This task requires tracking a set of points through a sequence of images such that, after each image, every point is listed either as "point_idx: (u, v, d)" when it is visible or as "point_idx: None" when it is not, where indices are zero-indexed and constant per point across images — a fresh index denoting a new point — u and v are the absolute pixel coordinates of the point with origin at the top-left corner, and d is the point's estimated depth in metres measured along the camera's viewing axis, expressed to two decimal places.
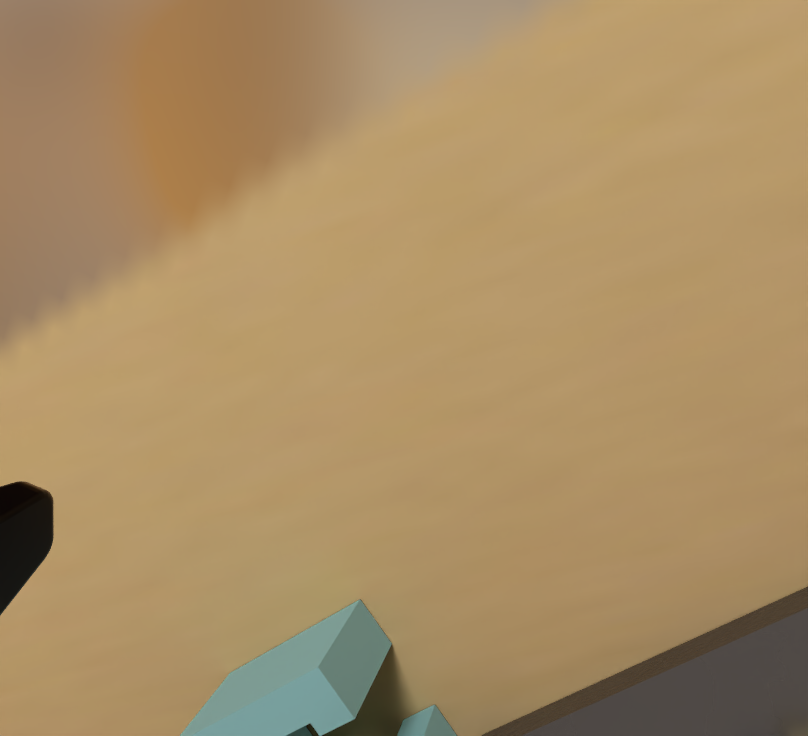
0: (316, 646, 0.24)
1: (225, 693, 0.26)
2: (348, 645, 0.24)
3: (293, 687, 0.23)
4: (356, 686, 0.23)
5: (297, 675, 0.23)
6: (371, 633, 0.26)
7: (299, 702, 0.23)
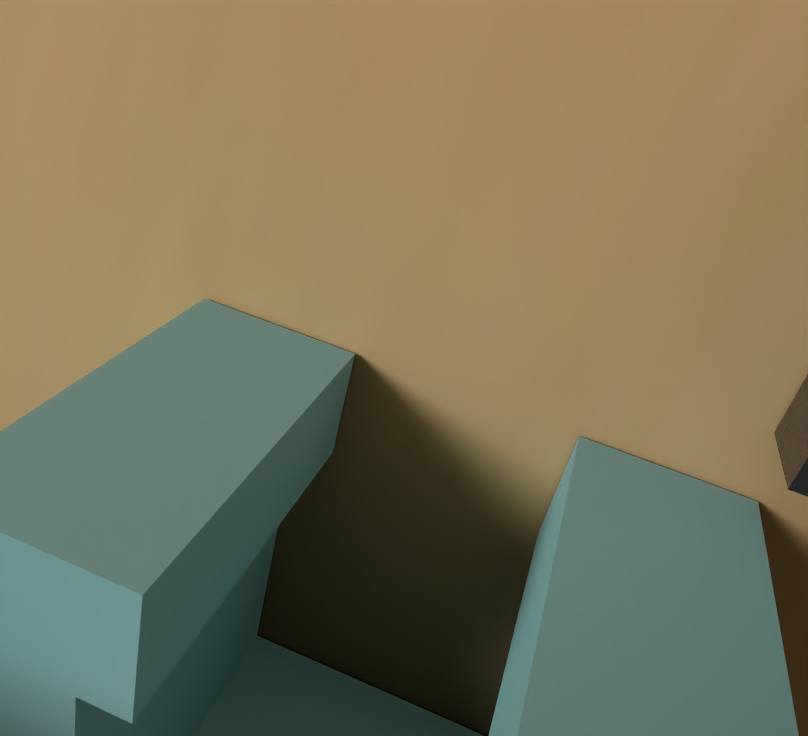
0: None
1: None
2: (131, 396, 0.07)
3: None
4: (164, 489, 0.06)
5: None
6: (260, 350, 0.08)
7: None
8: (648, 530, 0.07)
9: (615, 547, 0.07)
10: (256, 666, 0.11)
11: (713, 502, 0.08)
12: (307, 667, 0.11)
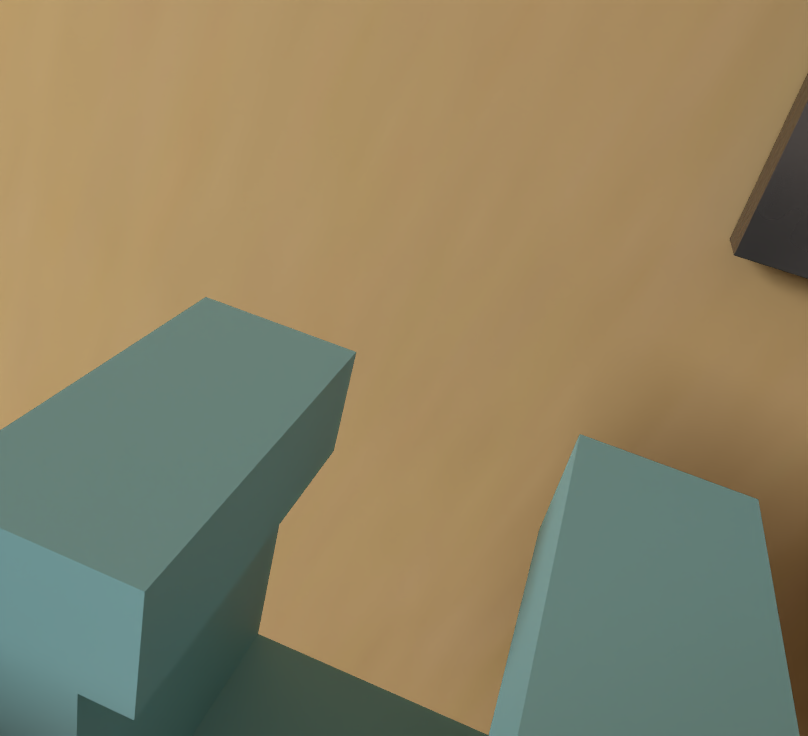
0: None
1: None
2: (133, 394, 0.07)
3: None
4: (166, 486, 0.06)
5: None
6: (261, 348, 0.08)
7: None
8: (649, 528, 0.07)
9: (616, 544, 0.07)
10: (257, 664, 0.11)
11: (713, 500, 0.08)
12: (308, 665, 0.11)
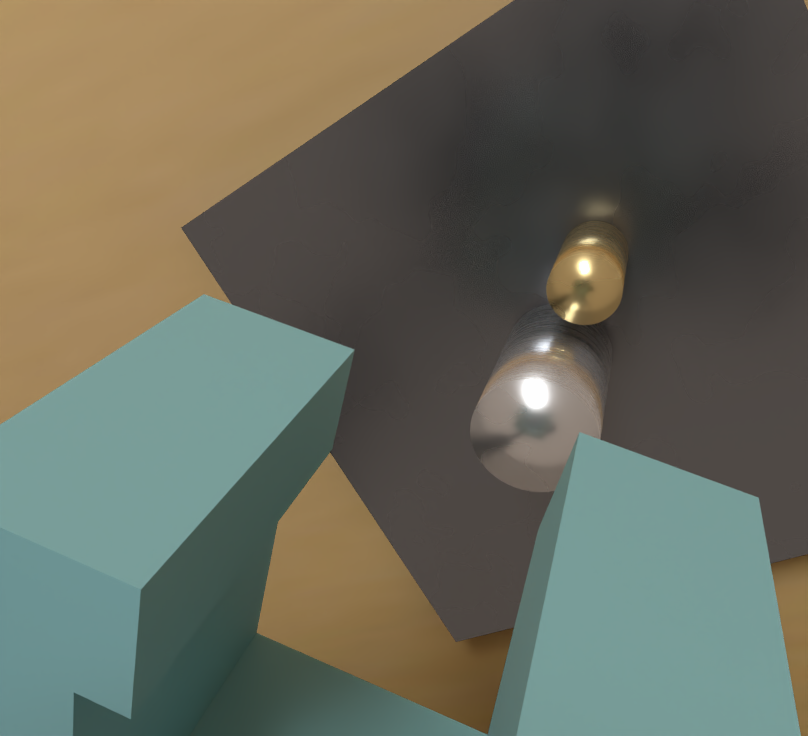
0: None
1: None
2: (129, 391, 0.07)
3: None
4: (163, 483, 0.06)
5: None
6: (260, 345, 0.08)
7: None
8: (648, 525, 0.07)
9: (615, 542, 0.07)
10: (255, 663, 0.11)
11: (713, 498, 0.08)
12: (306, 664, 0.11)
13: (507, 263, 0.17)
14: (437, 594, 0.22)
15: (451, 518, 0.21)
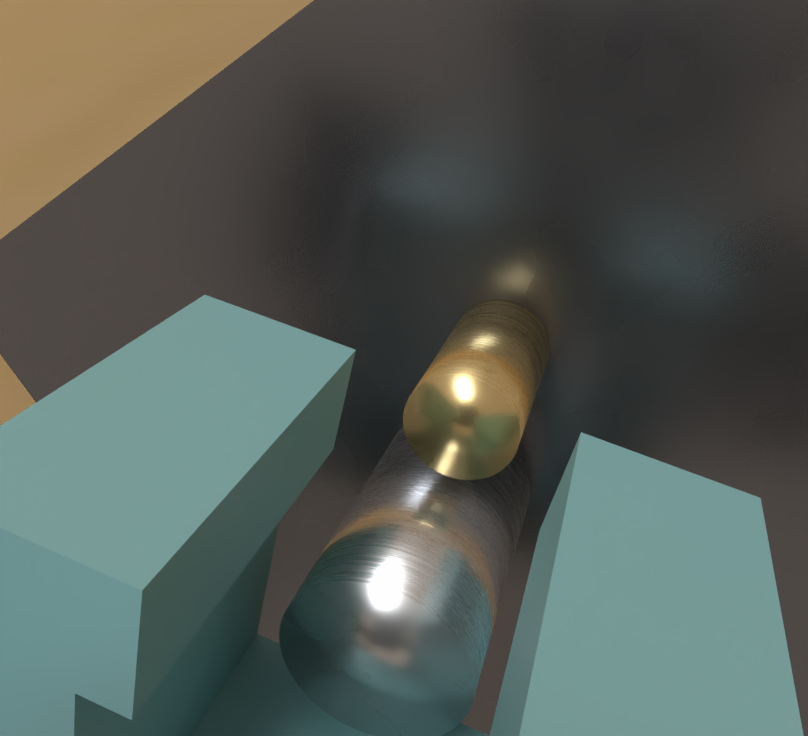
0: None
1: None
2: (130, 391, 0.07)
3: None
4: (164, 484, 0.06)
5: None
6: (259, 345, 0.08)
7: None
8: (650, 526, 0.07)
9: (617, 543, 0.07)
10: (256, 664, 0.11)
11: (715, 498, 0.08)
12: None
13: (379, 353, 0.12)
14: None
15: None
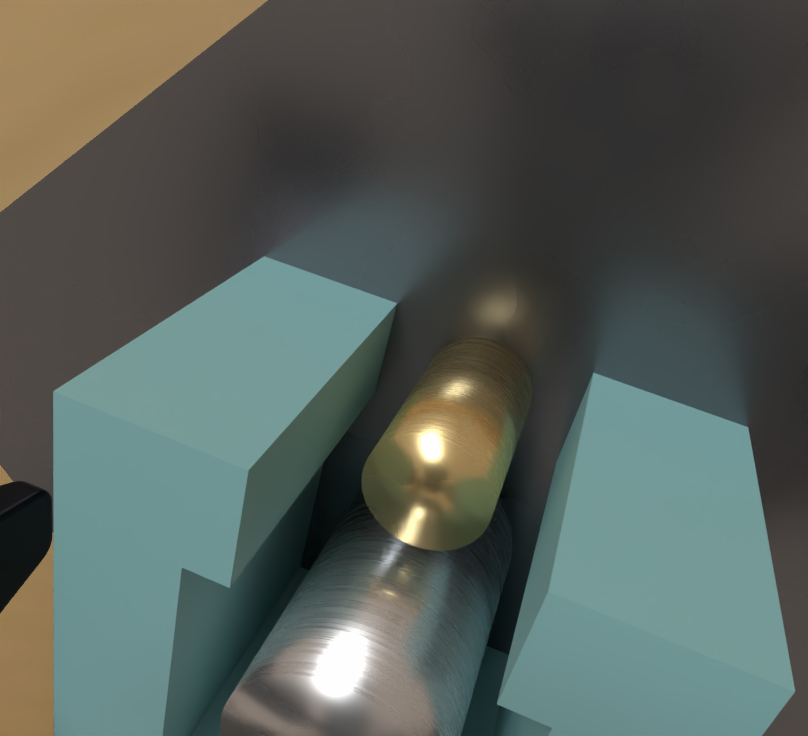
0: None
1: None
2: (215, 329, 0.08)
3: (71, 498, 0.07)
4: (253, 397, 0.07)
5: None
6: (316, 297, 0.09)
7: (115, 529, 0.07)
8: (653, 443, 0.08)
9: (626, 454, 0.08)
10: None
11: (709, 426, 0.09)
12: None
13: None
14: None
15: None
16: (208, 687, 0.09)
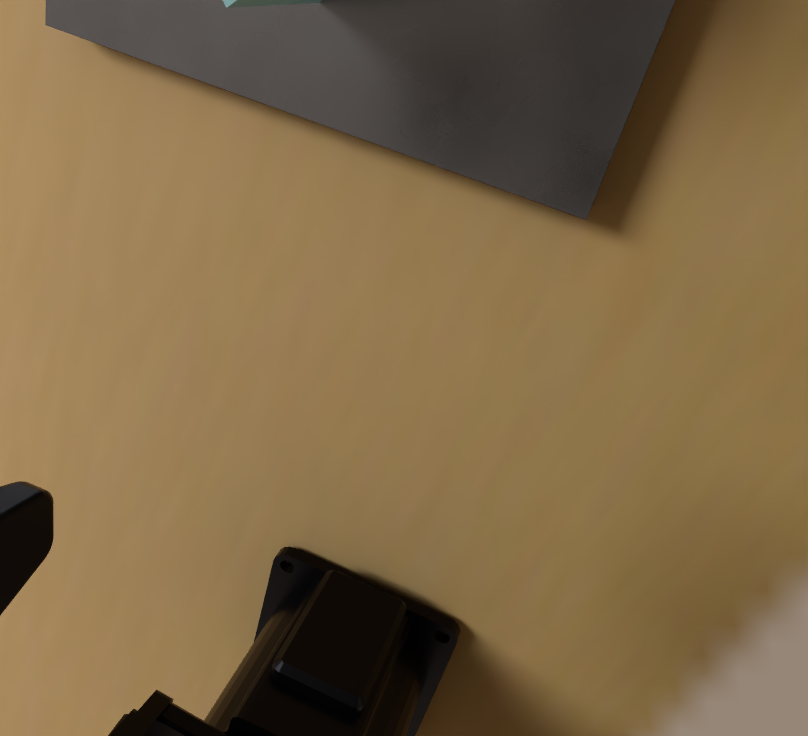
0: None
1: None
2: None
3: None
4: None
5: None
6: None
7: None
8: None
9: None
10: None
11: None
12: None
13: None
14: (518, 177, 0.17)
15: (451, 65, 0.16)
16: None
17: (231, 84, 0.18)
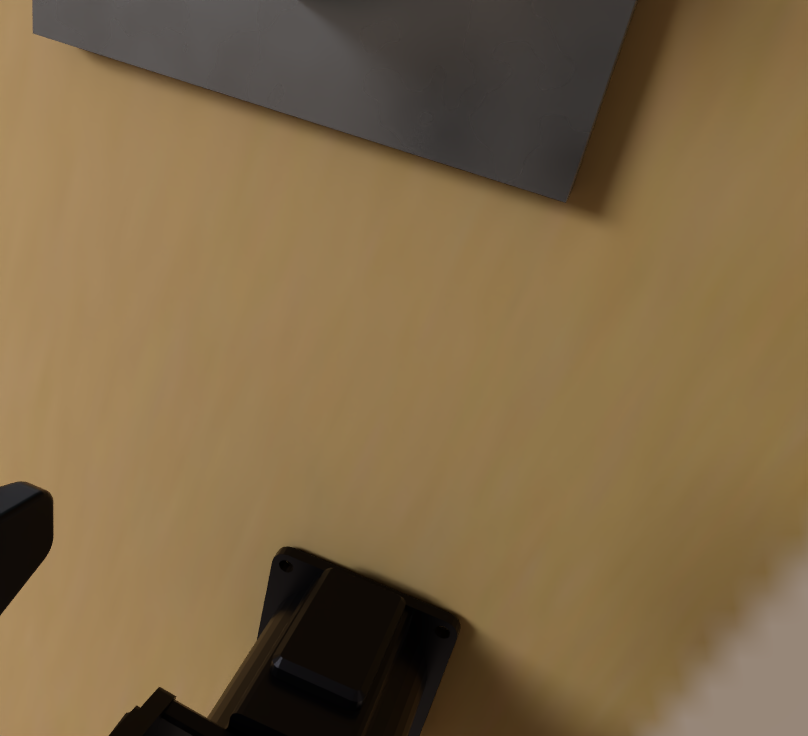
0: None
1: None
2: None
3: None
4: None
5: None
6: None
7: None
8: None
9: None
10: None
11: None
12: None
13: None
14: (498, 163, 0.17)
15: (427, 55, 0.17)
16: None
17: (214, 83, 0.18)
